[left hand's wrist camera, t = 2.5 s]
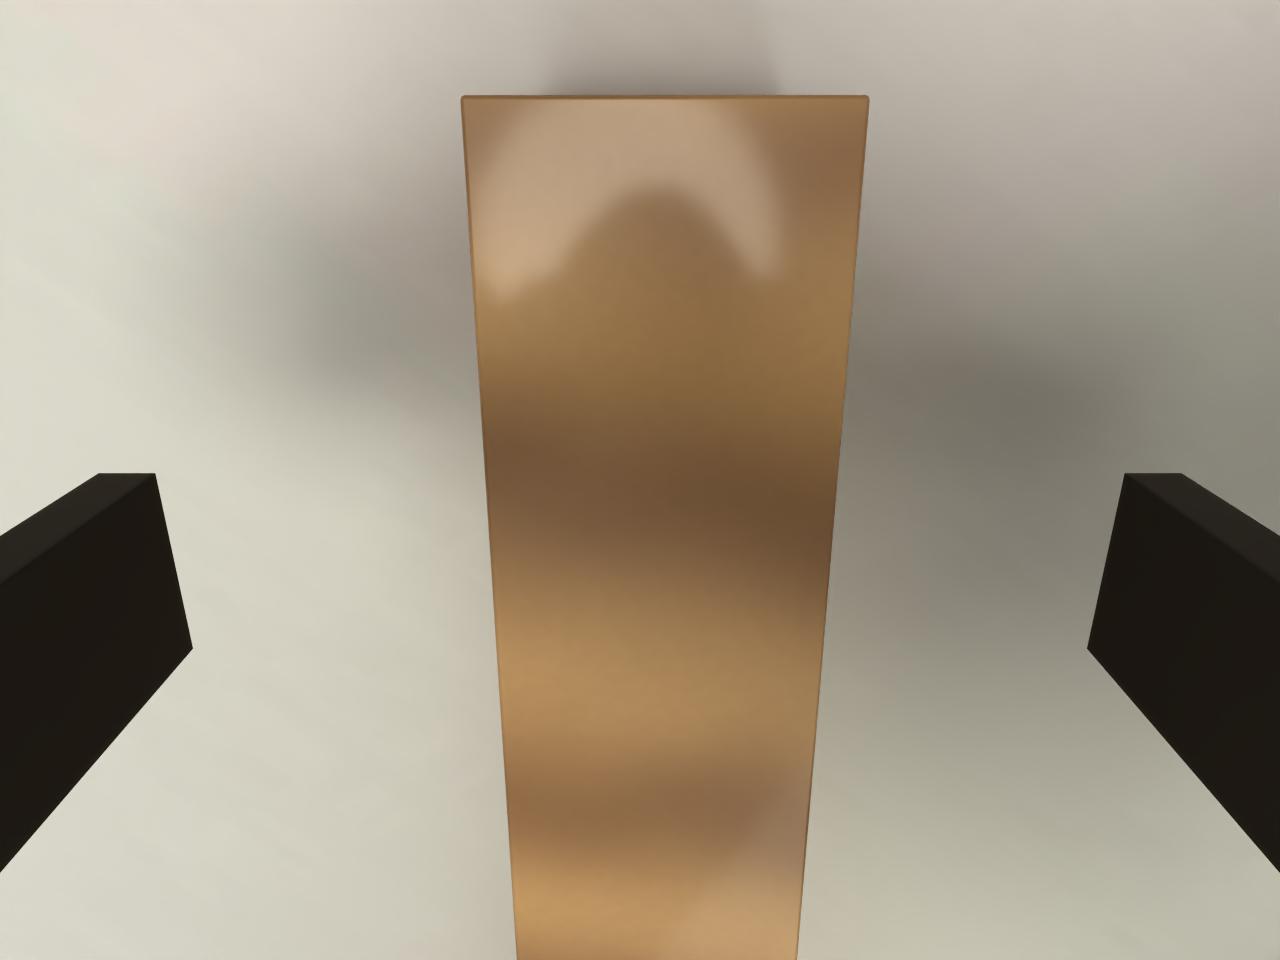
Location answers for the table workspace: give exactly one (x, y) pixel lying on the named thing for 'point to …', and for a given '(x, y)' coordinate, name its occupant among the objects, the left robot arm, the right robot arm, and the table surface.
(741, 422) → the post
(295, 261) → the table surface
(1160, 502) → the left robot arm
